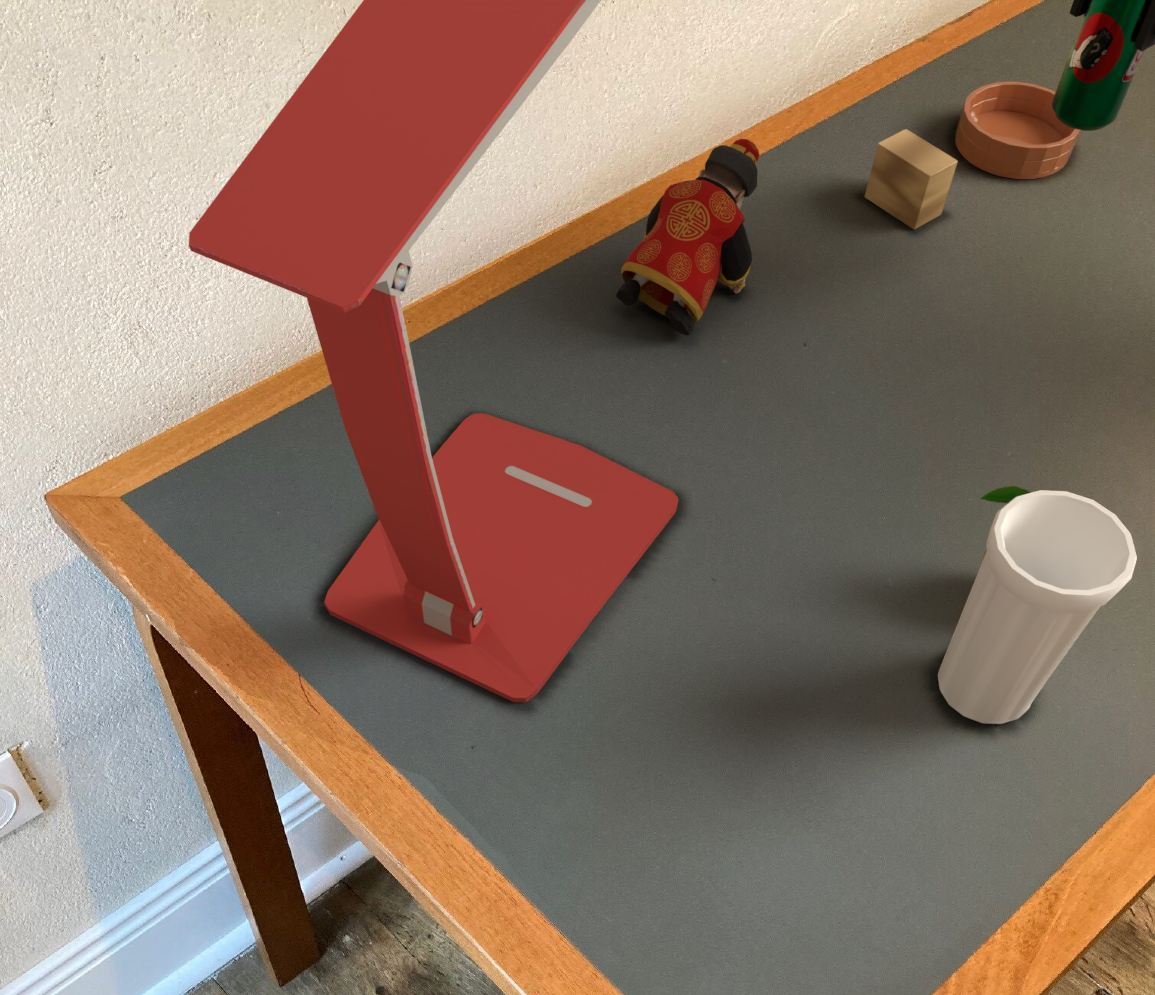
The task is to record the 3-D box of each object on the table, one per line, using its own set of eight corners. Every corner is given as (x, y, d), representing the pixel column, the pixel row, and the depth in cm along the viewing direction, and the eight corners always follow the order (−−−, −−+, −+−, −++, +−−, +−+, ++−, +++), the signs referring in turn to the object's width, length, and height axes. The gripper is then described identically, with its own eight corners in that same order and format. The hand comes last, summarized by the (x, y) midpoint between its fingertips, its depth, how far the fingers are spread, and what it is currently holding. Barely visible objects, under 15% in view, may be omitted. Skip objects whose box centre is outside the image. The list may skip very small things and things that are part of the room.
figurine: (708, 368, 98) (803, 213, 98) (698, 318, 89) (803, 147, 88) (613, 317, 100) (706, 164, 100) (593, 263, 91) (696, 94, 90)
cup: (927, 628, 80) (995, 476, 67) (1047, 652, 79) (1138, 502, 67) (916, 724, 76) (987, 581, 63) (1043, 751, 75) (1139, 611, 63)
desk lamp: (748, 406, 90) (869, -241, 56) (491, 780, 73) (437, 170, 39) (547, 329, 95) (545, -319, 60) (258, 664, 77) (22, 20, 43)
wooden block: (941, 214, 104) (958, 160, 99) (914, 230, 102) (930, 176, 98) (891, 182, 106) (905, 128, 102) (864, 197, 105) (877, 143, 100)
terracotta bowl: (1092, 151, 109) (1105, 119, 106) (1019, 193, 105) (1031, 161, 103) (1004, 100, 113) (1015, 68, 110) (931, 139, 109) (940, 107, 107)
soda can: (1116, 137, 91) (1189, -33, 80) (1050, 130, 91) (1114, -41, 81) (1111, 101, 93) (1181, -69, 83) (1047, 94, 93) (1108, -76, 83)
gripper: (1402, -260, 69) (1244, 59, 84) (1161, -347, 75) (1056, -35, 91) (1332, -228, 66) (1183, 95, 82) (1089, -321, 73) (994, -5, 88)
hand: (1117, 24), depth 86 cm, fingers closed on soda can, 5 cm apart
